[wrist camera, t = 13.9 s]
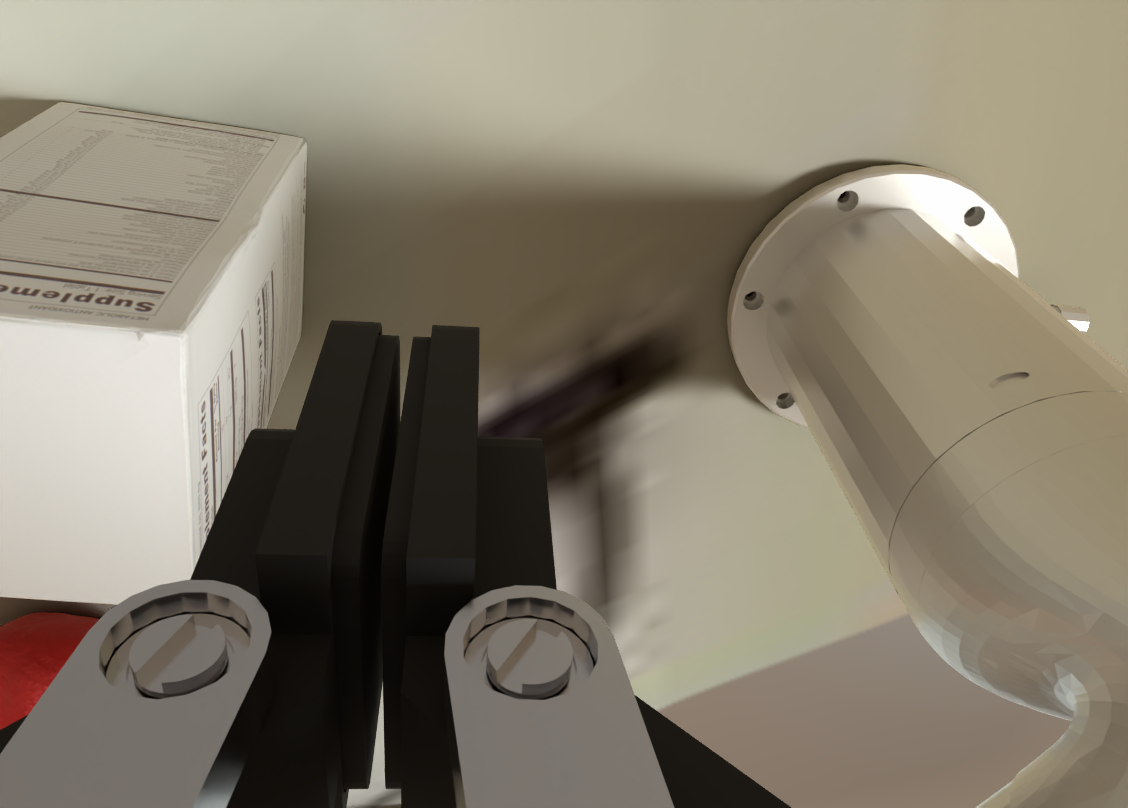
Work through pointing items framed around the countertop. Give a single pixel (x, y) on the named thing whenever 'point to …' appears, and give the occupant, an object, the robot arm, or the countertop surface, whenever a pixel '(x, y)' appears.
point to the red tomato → (35, 658)
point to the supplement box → (136, 338)
